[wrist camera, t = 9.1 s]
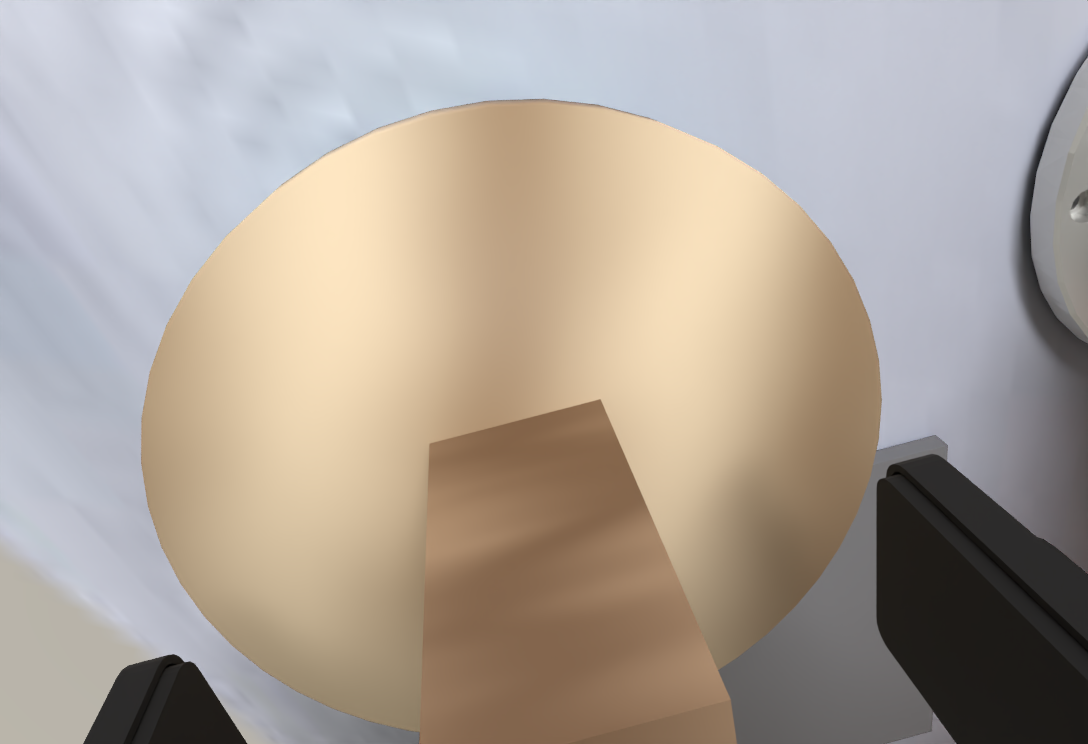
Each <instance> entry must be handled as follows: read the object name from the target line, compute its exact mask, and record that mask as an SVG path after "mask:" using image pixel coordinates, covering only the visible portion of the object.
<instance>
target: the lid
mask: <svg viewBox="0 0 1088 744" xmlns="http://www.w3.org/2000/svg"><path fill="white" fill-rule="evenodd" d="M881 402H882V398H881V384H880V370H879V359H878V354H877V350H876V346H875V341H874V337H873V332H872V328H871V324H870V319H869V317H868V314H867V312H866V310H865V307H864V305H863V302H862V300H861V297H860V295H859V292H858V290H857V287H856V285H855V282H854V280H853V278H852V277H851V275H850V273H849V272H848V270H847V268H846V267H845V265H844V263H843V262H842V260H841V258H840V257H839V255H838V253H837V252H836V250H835V248H834V247H833V245H832V244H831V242H830V241H829V239H828V238H827V237H826V236H825V235H824V234H823V232H822V231H821V230H820V229H819V228H818V227H817V225H816V224H815V223H814V222H813V221H812V220H811V218H810V217H809V216H808V215H807V214H806V213H805V211H804V210H803V209H802V208H801V207H800V206H799V205H798V204H797V203H796V202H795V201H794V200H792V199H791V198H790V197H789V196H788V195H786V194H785V193H784V192H783V191H782V190H781V189H779V188H778V187H777V186H776V185H775V184H774V183H772V182H771V181H770V180H769V179H768V178H767V177H765V176H764V175H763V174H762V173H760V172H758V171H757V170H755V169H754V168H752V167H750V166H749V165H747V164H745V163H744V162H742V161H740V160H739V159H737V158H736V157H734V156H732V155H731V154H729V153H727V152H726V151H724V150H722V149H721V148H719V147H718V146H715V145H713V144H710V143H708V142H706V141H703V140H701V139H699V138H696V137H694V136H691V135H689V134H687V133H684V132H682V131H679V130H677V129H675V128H672V127H670V126H668V125H665V124H663V123H660V122H658V121H655V120H653V119H650V118H647V117H643V116H639V115H635V114H631V113H628V112H624V111H620V110H616V109H612V108H608V107H604V106H600V105H595V104H586V103H576V102H567V101H558V100H548V99H526V100H497V101H483V102H478V103H472V104H466V105H461V106H455V107H449V108H444V109H438V110H432V111H429V112H426V113H423V114H420V115H417V116H413V117H410V118H407V119H404V120H401V121H398V122H395V123H392V124H389V125H386V126H383V127H380V128H377V129H375V130H373V131H371V132H369V133H367V134H365V135H363V136H361V137H359V138H357V139H355V140H353V141H351V142H349V143H347V144H345V145H342V146H340V147H338V148H336V149H334V150H332V151H330V152H328V153H327V154H325V155H324V156H322V157H321V158H319V159H318V160H316V161H315V162H313V163H312V164H311V165H309V166H308V167H306V168H305V169H303V170H302V171H300V172H299V173H297V174H296V175H295V176H293V177H292V178H290V179H289V180H287V181H286V182H284V183H283V184H282V185H281V186H280V187H278V188H277V189H276V190H275V191H274V192H273V193H272V194H271V195H270V196H269V197H268V198H267V199H265V200H264V201H263V202H262V203H261V204H260V205H259V206H258V207H257V208H256V209H255V210H254V211H253V212H252V213H250V214H249V215H248V216H247V217H246V218H245V219H244V220H243V221H242V222H241V223H240V224H239V225H238V226H237V227H235V228H234V229H233V230H232V231H231V232H230V233H229V234H228V235H227V236H226V237H225V238H224V239H223V241H222V242H221V243H220V245H219V246H218V247H217V248H216V250H215V251H214V252H213V253H212V255H211V256H210V257H209V259H208V260H207V261H206V262H205V264H204V265H203V266H202V267H201V269H200V270H199V271H198V273H197V274H196V275H195V276H194V278H193V279H192V280H191V282H190V284H189V286H188V288H187V289H186V291H185V293H184V295H183V297H182V298H181V300H180V302H179V304H178V306H177V307H176V309H175V311H174V313H173V315H172V316H171V318H170V320H169V322H168V324H167V325H166V328H165V331H164V334H163V337H162V339H161V342H160V345H159V348H158V351H157V353H156V356H155V359H154V362H153V365H152V367H151V370H150V374H149V380H148V385H147V391H146V397H145V402H144V408H143V414H142V435H141V465H142V471H143V478H144V484H145V490H146V496H147V502H148V508H149V511H150V514H151V517H152V520H153V523H154V526H155V529H156V532H157V535H158V538H159V541H160V544H161V547H162V549H163V551H164V553H165V554H166V556H167V558H168V560H169V562H170V564H171V566H172V568H173V570H174V572H175V574H176V576H177V578H178V580H179V582H180V583H181V585H182V586H183V588H184V589H185V590H186V592H187V593H188V595H189V596H190V597H191V599H192V600H193V602H194V603H195V604H196V606H197V607H198V608H199V610H200V611H201V613H202V614H203V615H204V617H205V618H206V619H207V620H208V621H209V622H210V623H211V624H212V625H213V626H214V627H215V628H216V629H217V630H218V631H219V632H220V633H221V634H222V636H223V637H224V638H225V639H226V640H227V641H228V642H229V643H230V644H231V645H232V646H233V647H234V648H236V649H237V650H238V651H239V652H241V653H242V654H243V655H244V656H246V657H247V658H248V659H249V660H251V661H252V662H253V663H254V664H256V665H257V666H258V667H259V668H261V669H262V670H263V671H265V672H266V673H268V674H269V675H271V676H273V677H274V678H276V679H278V680H279V681H281V682H282V683H284V684H286V685H287V686H289V687H290V688H292V689H294V690H295V691H297V692H299V693H301V694H303V695H305V696H307V697H309V698H312V699H314V700H316V701H318V702H320V703H322V704H324V705H326V706H329V707H331V708H333V709H336V710H339V711H341V712H344V713H347V714H350V715H353V716H356V717H359V718H361V719H364V720H367V721H370V722H374V723H379V724H383V725H387V726H391V727H395V728H400V729H404V730H408V731H415V732H420V739H419V744H737V740H736V733H735V726H734V719H733V712H732V705H731V699H730V697H729V695H728V692H727V690H726V688H725V685H724V683H723V681H722V678H721V676H720V674H719V672H718V670H719V669H721V668H722V667H724V666H725V665H727V664H728V663H730V662H731V661H733V660H734V659H736V658H737V657H739V656H740V655H741V654H743V653H744V652H745V651H746V650H748V649H749V648H750V647H751V646H753V645H754V644H755V643H756V642H758V641H759V640H760V639H761V638H763V637H764V636H765V635H767V634H768V633H769V632H770V631H771V630H772V629H773V628H774V627H775V626H776V625H777V624H778V623H779V622H780V621H781V620H782V619H783V618H784V617H785V616H786V615H787V614H788V613H789V612H790V611H791V610H793V609H794V608H795V606H796V605H797V604H798V603H799V602H800V600H801V599H802V598H803V597H804V596H805V594H806V593H807V592H808V591H809V590H810V588H811V587H812V586H813V585H814V584H815V583H816V581H817V580H818V579H819V578H820V576H821V575H822V573H823V572H824V570H825V569H826V567H827V566H828V564H829V563H830V561H831V560H832V558H833V557H834V555H835V554H836V552H837V551H838V549H839V548H840V546H841V544H842V542H843V540H844V538H845V536H846V534H847V532H848V530H849V528H850V526H851V524H852V522H853V520H854V518H855V517H856V515H857V512H858V510H859V507H860V504H861V501H862V499H863V496H864V493H865V490H866V488H867V485H868V482H869V479H870V476H871V472H872V467H873V463H874V458H875V454H876V449H877V445H878V440H879V428H880V415H881Z"/></svg>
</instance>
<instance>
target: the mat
mask: <svg viewBox="0 0 1088 744" xmlns="http://www.w3.org/2000/svg"><path fill="white" fill-rule="evenodd" d="M947 451H948V445H947V444H946V443H945V442H943V441H942V440H941V439H940V438H938V437H937V436H936V435H935V436H931V437H927V438H923V439H919V440H916V441H912V442H908V443H904V444H900V445H897V446H893V447H889V448H885V449H881V450H878V451H876V454H875V458H874V463H873V467H872V472H871V476H870V479H869V482H868V485H867V488H866V490H865V493H864V496H863V499H862V501H861V504H860V507H859V510H858V512H857V515H856V517H855V518H854V520H853V522H852V524H851V526H850V528H849V530H848V532H847V534H846V536H845V538H844V540H843V542H842V544H841V546H840V548H839V549H838V551H837V552H836V554H835V555H834V557H833V558H832V560H831V561H830V563H829V564H828V566H827V567H826V569H825V570H824V572H823V573H822V575H821V576H820V578H819V579H818V580H817V581H816V583H815V584H814V585H813V586H812V587H811V588H810V590H809V591H808V592H807V593H806V594H805V596H804V597H803V598H802V599H801V600H800V602H799V603H798V604H797V605H796V606H795V608H794V609H793V610H791V611H790V612H789V613H788V614H787V615H786V616H785V617H784V618H783V619H782V620H781V621H780V622H779V623H778V624H777V625H776V626H775V627H774V628H773V629H772V630H771V631H770V632H769V633H768V634H767V635H765V636H764V637H763V638H761V639H760V640H759V641H758V642H756V643H755V644H754V645H753V646H751V647H750V648H749V649H748V650H746V651H745V652H744V653H743V654H741V655H740V656H739V657H737V658H736V659H734V660H733V661H731V662H730V663H728V664H727V665H725V666H724V667H722V668H721V669H719V670H718V672H719V674H720V676H721V678H722V681H723V683H724V685H725V688H726V690H727V692H728V695H729V697H730V699H731V705H732V712H733V719H734V726H735V733H736V740H737V744H886V743H890V742H893V741H897V740H901V739H904V738H908V737H912V736H915V735H919V734H923V733H927V732H930V731H931V730H932V712H933V710H932V709H931V707H930V706H929V705H928V703H927V702H926V701H925V699H924V698H923V696H922V695H921V694H920V692H919V691H918V690H917V688H916V687H915V685H914V684H913V683H912V681H911V680H910V679H909V677H908V676H907V674H906V673H905V672H904V670H903V669H902V667H901V666H900V665H899V663H898V662H897V661H896V659H895V658H894V656H893V655H892V654H891V652H890V651H889V650H888V648H887V646H886V645H885V643H884V641H883V639H882V637H881V635H880V632H879V630H878V626H877V620H876V488H877V482H878V481H879V479H882V478H886V473H887V469H888V467H889V466H890V465H892V464H895V463H899V462H902V461H906V460H910V459H914V458H918V457H921V456H925V455H929V454H936V455H939V456H940V457H942V458H944V459H945V460H946V461H947Z"/></svg>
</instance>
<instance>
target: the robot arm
mask: <svg viewBox="0 0 1088 744" xmlns="http://www.w3.org/2000/svg"><path fill="white" fill-rule="evenodd" d="M1030 225H1031V250H1032V259H1033V263H1034V267H1035V270H1036V274H1037V278H1038V281H1039V285H1040V289H1041V291H1042V293H1043V295H1044V296H1045V298H1046V300H1047V302H1048V303H1049V305H1050V307H1051V309H1052V311H1053V312H1054V314H1055V316H1056V317H1057V318H1058V319H1059V320H1060V321H1061V322H1062V323H1063V324H1064V325H1065V326H1066V327H1067V328H1068V329H1069V330H1070V331H1071V332H1072V333H1073V334H1074V335H1075V336H1076V337H1077V338H1078V339H1080V340H1082V341H1084V342H1086V343H1088V57H1087V59H1086V60H1085V62H1084V63H1083V65H1082V66H1081V68H1080V69H1079V71H1078V72H1077V74H1076V76H1075V78H1074V80H1073V82H1072V84H1071V86H1070V88H1069V90H1068V92H1067V94H1066V96H1065V98H1064V100H1063V103H1062V105H1061V107H1060V109H1059V111H1058V113H1057V115H1056V117H1055V119H1054V121H1053V123H1052V126H1051V129H1050V132H1049V135H1048V138H1047V142H1046V145H1045V148H1044V151H1043V154H1042V157H1041V160H1040V164H1039V167H1038V170H1037V174H1036V181H1035V187H1034V194H1033V201H1032V208H1031V214H1030ZM876 620H877V626H878V630H879V632H880V635H881V637H882V639H883V641H884V643H885V645H886V646H887V648H888V650H889V651H890V652H891V654H892V655H893V656H894V658H895V659H896V661H897V662H898V663H899V665H900V666H901V667H902V669H903V670H904V672H905V673H906V674H907V676H908V677H909V679H910V680H911V681H912V683H913V684H914V685H915V687H916V688H917V690H918V691H919V692H920V694H921V695H922V696H923V698H924V699H925V701H926V702H927V703H928V705H929V706H930V707H931V709H932V710H933V712H934V713H935V714H936V716H937V717H938V718H939V720H940V721H941V723H942V724H943V725H944V727H945V728H946V730H947V731H948V732H949V734H950V735H951V736H952V738H953V739H954V741H955V742H956V743H957V744H1088V574H1087V573H1086V572H1084V571H1083V570H1082V569H1081V568H1080V567H1078V566H1077V565H1076V564H1075V563H1074V562H1072V561H1071V560H1070V559H1069V558H1068V557H1066V556H1065V555H1064V554H1063V553H1062V552H1061V551H1059V550H1058V549H1057V548H1056V547H1054V546H1053V545H1051V544H1050V543H1048V542H1047V541H1045V540H1044V539H1041V538H1038V537H1036V536H1035V535H1034V534H1032V533H1031V532H1030V531H1029V530H1028V529H1027V528H1025V527H1024V526H1023V525H1022V524H1021V523H1019V522H1018V521H1017V520H1016V519H1015V518H1014V517H1012V516H1011V515H1010V514H1009V513H1008V512H1006V511H1005V510H1004V509H1003V508H1002V507H1001V506H999V505H998V504H997V503H996V502H995V501H993V500H992V499H991V498H990V497H989V496H988V495H986V494H985V493H984V492H983V491H982V490H980V489H979V488H978V487H977V486H976V485H974V484H973V483H972V482H971V481H970V480H969V479H967V478H966V477H965V476H964V475H963V474H961V473H960V472H959V471H958V470H957V469H956V468H954V467H953V466H952V465H951V464H950V463H948V462H947V461H946V460H945V459H944V458H942V457H940V456H939V455H936V454H929V455H925V456H921V457H918V458H914V459H910V460H906V461H902V462H899V463H895V464H892V465H890V466H889V467H888V469H887V473H886V478H882V479H879V481H878V482H877V488H876ZM83 744H247V743H246V741H245V739H244V738H243V736H242V735H241V733H240V732H239V730H238V729H237V727H236V726H235V724H234V723H233V721H232V720H231V718H230V716H229V715H228V713H227V712H226V710H225V709H224V707H223V706H222V704H221V703H220V701H219V700H218V698H217V696H216V695H215V693H214V692H213V690H212V689H211V687H210V686H209V684H208V683H207V681H206V680H205V678H204V676H203V675H202V673H201V672H200V670H199V669H198V667H197V666H196V665H195V664H194V663H192V662H184V661H183V660H182V659H181V658H180V657H179V656H177V655H174V654H173V655H167V656H163V657H159V658H155V659H152V660H148V661H144V662H140V663H136V664H133V665H129V666H127V667H126V668H124V669H123V670H122V671H121V672H120V674H119V675H118V677H117V678H116V680H115V682H114V684H113V686H112V688H111V690H110V692H109V694H108V696H107V698H106V700H105V702H104V704H103V706H102V708H101V710H100V712H99V714H98V716H97V718H96V720H95V722H94V724H93V726H92V727H91V730H90V732H89V733H88V735H87V737H86V739H85V741H84V743H83Z"/></svg>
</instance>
